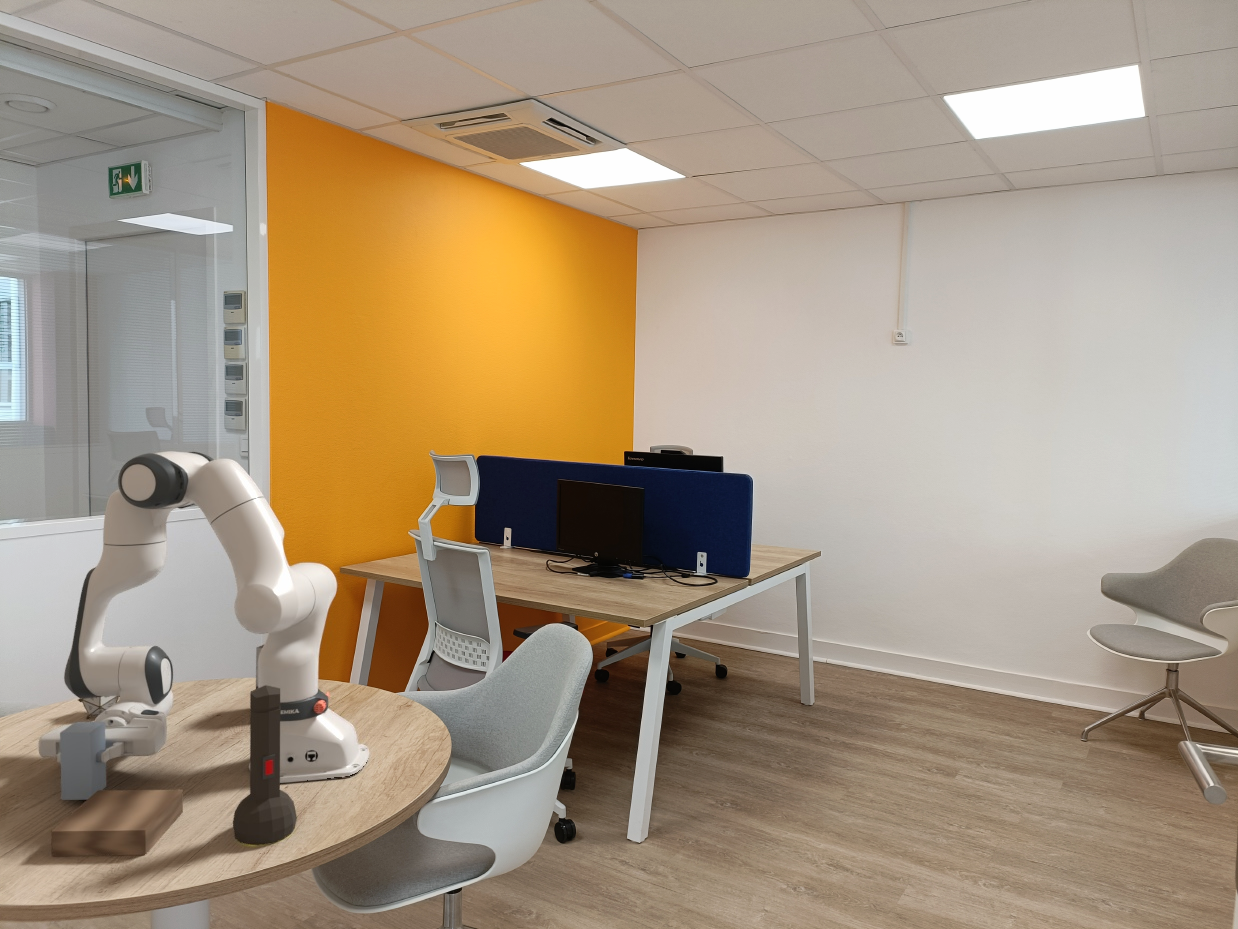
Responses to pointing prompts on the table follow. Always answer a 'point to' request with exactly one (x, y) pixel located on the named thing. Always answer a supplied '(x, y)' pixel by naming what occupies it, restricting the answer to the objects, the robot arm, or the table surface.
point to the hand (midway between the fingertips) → (80, 758)
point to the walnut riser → (117, 823)
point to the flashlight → (264, 777)
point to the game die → (98, 704)
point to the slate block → (82, 760)
